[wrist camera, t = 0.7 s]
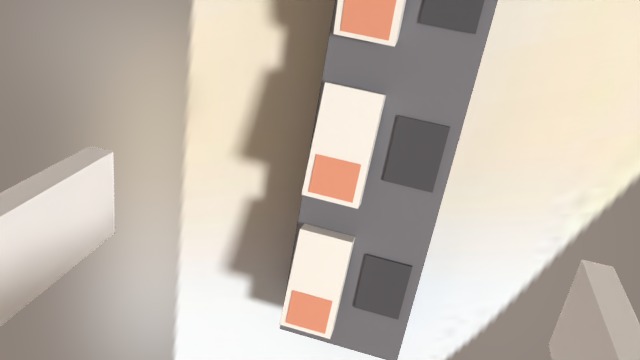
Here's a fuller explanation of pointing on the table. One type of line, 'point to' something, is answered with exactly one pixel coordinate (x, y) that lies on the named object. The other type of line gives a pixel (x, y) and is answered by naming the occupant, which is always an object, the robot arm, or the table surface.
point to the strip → (399, 161)
